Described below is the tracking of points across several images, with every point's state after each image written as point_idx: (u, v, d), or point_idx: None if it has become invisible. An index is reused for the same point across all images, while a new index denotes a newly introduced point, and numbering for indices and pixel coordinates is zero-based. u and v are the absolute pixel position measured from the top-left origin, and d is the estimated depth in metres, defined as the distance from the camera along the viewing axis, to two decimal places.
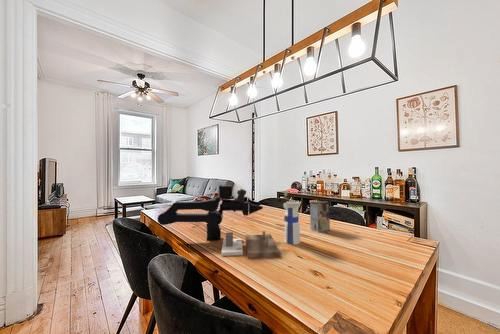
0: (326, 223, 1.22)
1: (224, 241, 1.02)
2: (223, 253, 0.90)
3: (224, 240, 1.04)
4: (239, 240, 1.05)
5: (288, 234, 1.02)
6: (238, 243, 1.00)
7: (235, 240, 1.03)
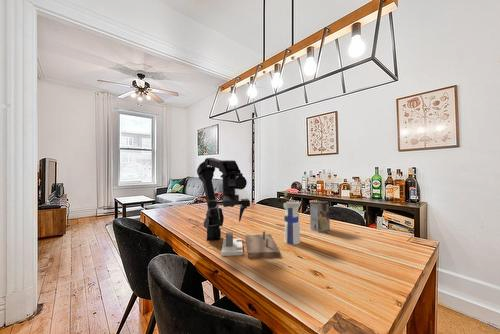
0: (326, 223, 1.22)
1: (224, 241, 1.02)
2: (223, 253, 0.90)
3: (224, 240, 1.04)
4: (239, 240, 1.05)
5: (288, 234, 1.02)
6: (238, 243, 1.00)
7: (235, 240, 1.03)
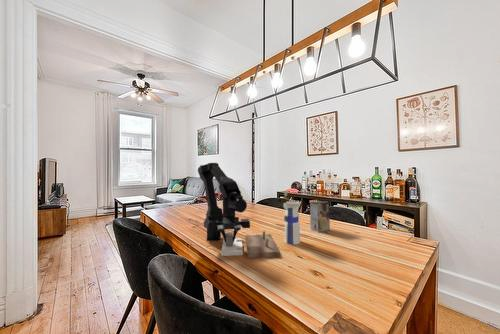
0: (326, 223, 1.22)
1: (224, 241, 1.02)
2: (223, 253, 0.90)
3: None
4: (239, 240, 1.05)
5: (288, 234, 1.02)
6: (238, 243, 1.00)
7: (235, 240, 1.03)
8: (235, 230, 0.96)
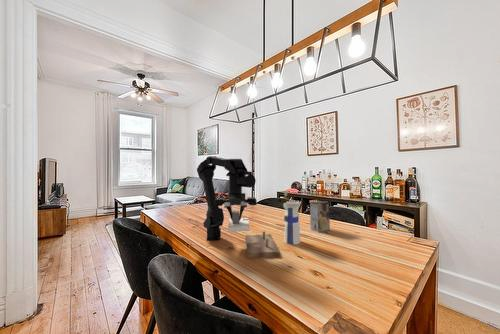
0: (326, 223, 1.22)
1: (230, 220, 1.02)
2: (229, 229, 0.90)
3: (230, 219, 1.04)
4: (245, 219, 1.04)
5: (288, 234, 1.02)
6: (244, 221, 1.00)
7: (241, 219, 1.03)
8: (242, 207, 0.95)
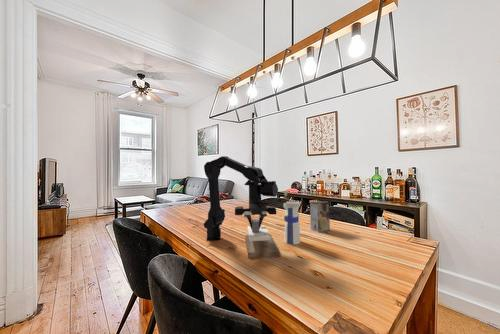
0: (327, 223, 1.22)
1: (248, 228, 1.03)
2: (251, 238, 0.91)
3: (248, 227, 1.04)
4: (263, 227, 1.05)
5: (288, 234, 1.02)
6: (263, 229, 1.01)
7: None
8: (261, 216, 0.96)
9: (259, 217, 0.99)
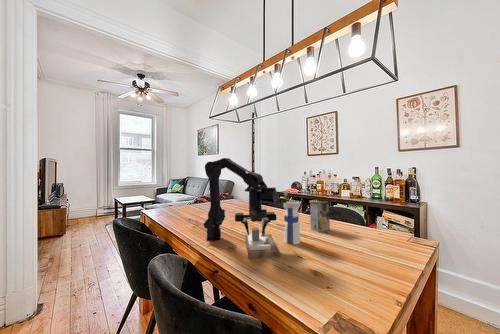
0: (327, 223, 1.22)
1: (249, 236, 1.03)
2: (251, 247, 0.91)
3: (249, 235, 1.04)
4: None
5: (288, 234, 1.02)
6: (263, 237, 1.01)
7: (259, 235, 1.04)
8: (265, 222, 0.97)
9: (262, 223, 0.99)
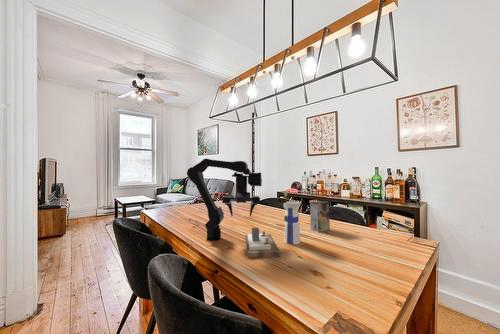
0: (326, 223, 1.22)
1: (249, 236, 1.03)
2: (251, 247, 0.91)
3: (249, 235, 1.04)
4: None
5: (288, 234, 1.02)
6: (263, 237, 1.01)
7: (259, 235, 1.04)
8: (252, 205, 1.07)
9: None
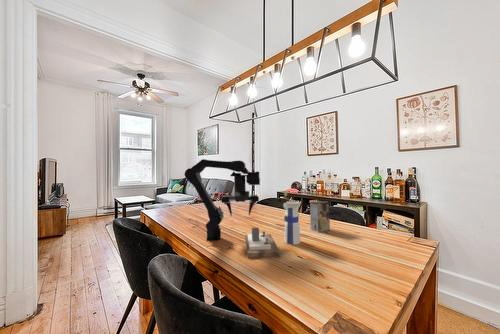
0: (326, 223, 1.22)
1: (249, 236, 1.03)
2: (251, 247, 0.91)
3: (249, 235, 1.04)
4: None
5: (288, 234, 1.02)
6: (263, 237, 1.01)
7: (259, 235, 1.04)
8: (251, 203, 1.08)
9: (249, 204, 1.11)
